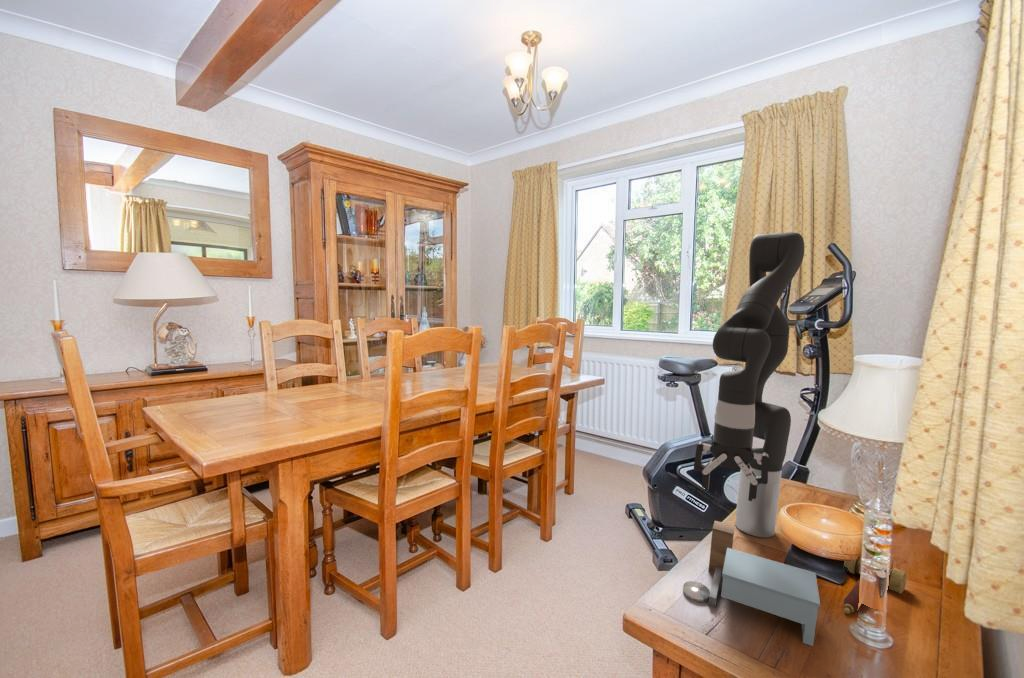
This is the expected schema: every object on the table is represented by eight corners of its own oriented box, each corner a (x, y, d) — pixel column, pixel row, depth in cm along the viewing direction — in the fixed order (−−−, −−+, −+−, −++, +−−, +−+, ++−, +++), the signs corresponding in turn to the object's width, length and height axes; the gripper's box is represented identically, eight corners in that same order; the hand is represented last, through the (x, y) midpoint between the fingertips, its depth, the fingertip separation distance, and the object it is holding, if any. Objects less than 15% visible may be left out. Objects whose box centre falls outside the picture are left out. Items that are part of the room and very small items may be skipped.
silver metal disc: (685, 584, 96) (685, 578, 96) (710, 593, 94) (711, 586, 94) (680, 597, 92) (681, 591, 92) (707, 607, 89) (708, 600, 89)
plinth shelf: (723, 583, 96) (727, 547, 95) (810, 612, 89) (815, 572, 88) (718, 613, 87) (722, 573, 86) (814, 647, 80) (820, 604, 79)
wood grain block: (710, 562, 104) (714, 520, 103) (730, 568, 102) (734, 525, 101) (700, 603, 90) (705, 555, 89) (723, 611, 88) (727, 562, 87)
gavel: (879, 616, 84) (817, 587, 92) (877, 638, 85) (815, 608, 93) (908, 569, 97) (851, 546, 105) (905, 588, 98) (849, 565, 106)
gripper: (773, 423, 97) (765, 496, 99) (700, 412, 104) (695, 480, 106) (773, 432, 90) (765, 510, 92) (695, 420, 97) (690, 493, 99)
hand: (727, 494), depth 99 cm, fingers open, 8 cm apart
